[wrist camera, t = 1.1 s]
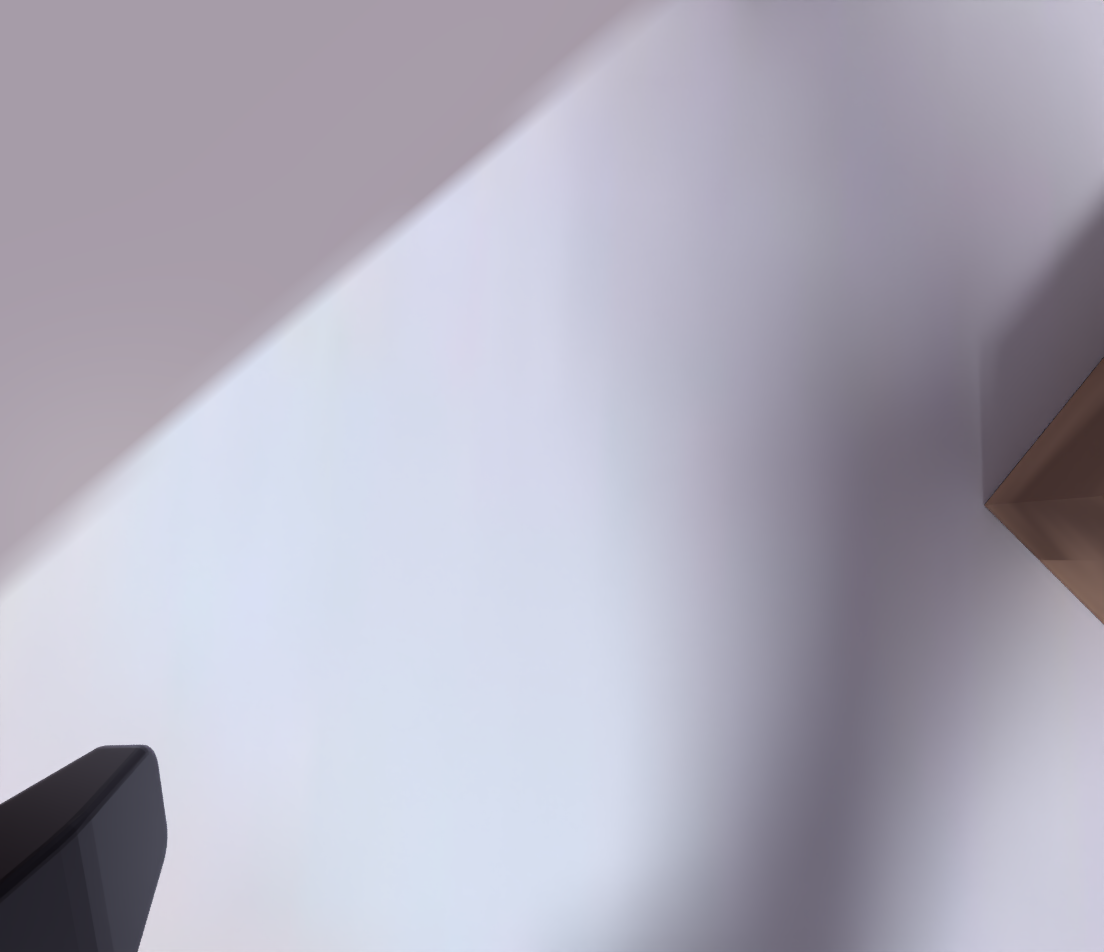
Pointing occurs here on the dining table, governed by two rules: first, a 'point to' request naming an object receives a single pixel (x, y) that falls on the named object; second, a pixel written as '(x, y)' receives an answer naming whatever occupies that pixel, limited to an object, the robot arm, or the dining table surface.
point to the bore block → (1064, 495)
